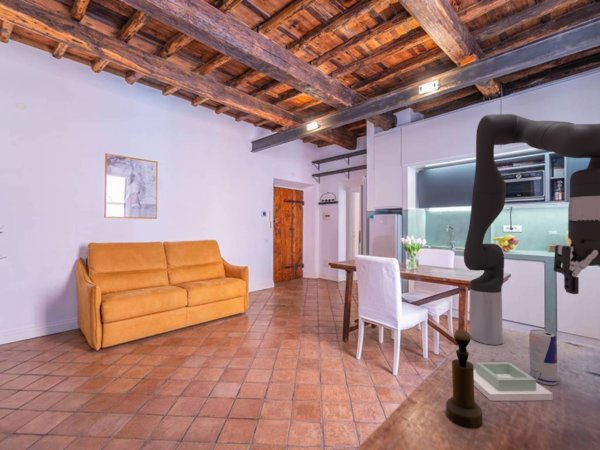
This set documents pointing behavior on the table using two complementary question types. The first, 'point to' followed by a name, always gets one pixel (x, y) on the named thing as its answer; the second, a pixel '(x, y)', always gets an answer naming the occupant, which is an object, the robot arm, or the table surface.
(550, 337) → the energy drink
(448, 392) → the table surface
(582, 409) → the table surface
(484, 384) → the baseplate
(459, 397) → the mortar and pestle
